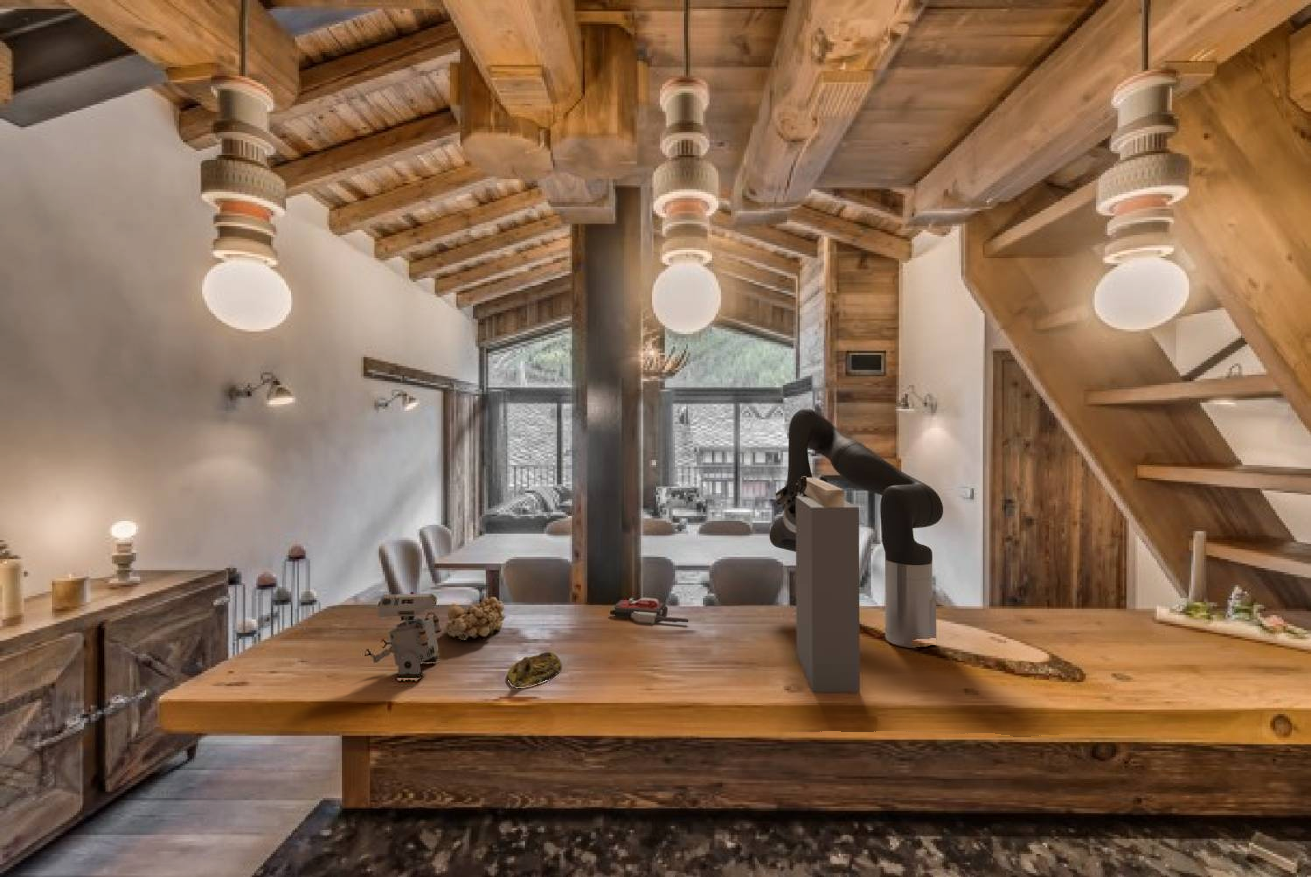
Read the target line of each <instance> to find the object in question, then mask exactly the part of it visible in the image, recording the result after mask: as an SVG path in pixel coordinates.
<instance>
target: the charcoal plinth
mask: <svg viewBox="0 0 1311 877" xmlns="http://www.w3.org/2000/svg"><path fill="white" fill-rule="evenodd" d="M795 575H796V576H795V577H796V578H795V583H796V584H795V587H796V588H795V590H796V591H795V594H796V595H795V598H796V601H795V602H796V603H795V604H796V605H795V606H796V607H795V608H796V609H795V610H796V611H795V612H796V614H795V615H796V657H797V660H798V662H799V664H800V667H801V669H802V671H803V673H804V676H805V677H806V680H807V683H808V682H809V683H808V685H809V687H810V688H811V692H813V693H847V692H860V691H861V689H860V688H861V685H860V684H861V680H860V677H861V676H860V674H861V671H860V670H861V668H860V665H861V664H860V661H861V658H860V654H861V653H860V645H861V644H860V642H861V641H860V640H861V638H860V635H861V634H860V507H859V506H856V505H855V504H854V503H852V502H849V501H847V500H845V499H844V507H835V508H826V507H825V506H823V505H822V504H820V503H818V502H817V501H815V500H814V499H812V498H810V497H809V496H796V552H795Z"/></svg>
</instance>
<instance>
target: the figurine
mask: <svg viewBox="0 0 1311 877" xmlns="http://www.w3.org/2000/svg"><path fill="white" fill-rule="evenodd" d="M437 600H438V597H437V596H436V595H434V594H433V593H415V592H414V591H411V592H410V593H405V594H404V593H403V594H402V593H401V594H400V593H399V594H398V593H397V594H392V593H391V594H382V596H381V597H380V600H379V602H378V618H380V617H381V618H384V617H400V621H401V622H399V623H398V624H396V627H394V628H392V630H391V631H389V633H388V634H389V637H390V641H386V640H385V639H384V638H382V639H381V641H380V643H382V642H383V643H384V645H383V646H380V647H381V648H382V649H384V650H383V651H382V652H380V653H378V654H374V653H373V652H371V651H370V649H369V648H367V649H366V650H365V651H364V657H369V656H370V657H371V658H372V661H373V663H375V664H376V663H379V662H380V661H381V660H382V659H383V658H385V657H388V656H390V654H391V653H392V654H393V657H394V662H395V665H396V666H398V668H397V674H396V679H397V678H420V677H421V676H422V677H423V673H422V671H421V669H422V668H421V665H420V663H421V662H436V661H437V659H438V660H439V658H438V655H437V653H438V652H439V651H440V650H439V644H438V641H437V640H438V639H437V635H436V634H439V633H441V632H442V629H441V627H440V618H439V616H438V615H437V614H435V613H434V612H429V613H427V615H426V617H424V618H423V617H416V616H418V615H420V614H421V613H423V612H425V611H426V610H435V609H436V606H437ZM431 614H433V616H432V618H431V617H428V616H429V615H431ZM387 645H390V646H389V647H388V649H387V648H386V646H387ZM385 648H386V649H385ZM366 652H368V653H367V654H366ZM437 662H438V661H437ZM437 662H436V663H437Z"/></svg>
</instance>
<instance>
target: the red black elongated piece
mask: <svg viewBox="0 0 1311 877" xmlns="http://www.w3.org/2000/svg"><path fill="white" fill-rule="evenodd" d="M609 614H610V615H612V616H614V617H615V618H618V619H619V618H621V619H630V620H634V621H635V622H638V623H646V624H651V625H653V624H656V623H657V622H668V623H677V622H679V623H689V619H688V618H682V617H673V616H672V617H671V616H669V617H668V616H667V615H668V606H666V603H664V602H660V600H659V599H658V598H656V597H655V598H654V597H641V598H640V599H637V600H634V598H633V597H630V598H629V600H627V599H620V600H619V601H618V602H617V603H616V604H615V605H614V609H613V610H612V609H611V610H610V611H609Z"/></svg>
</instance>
